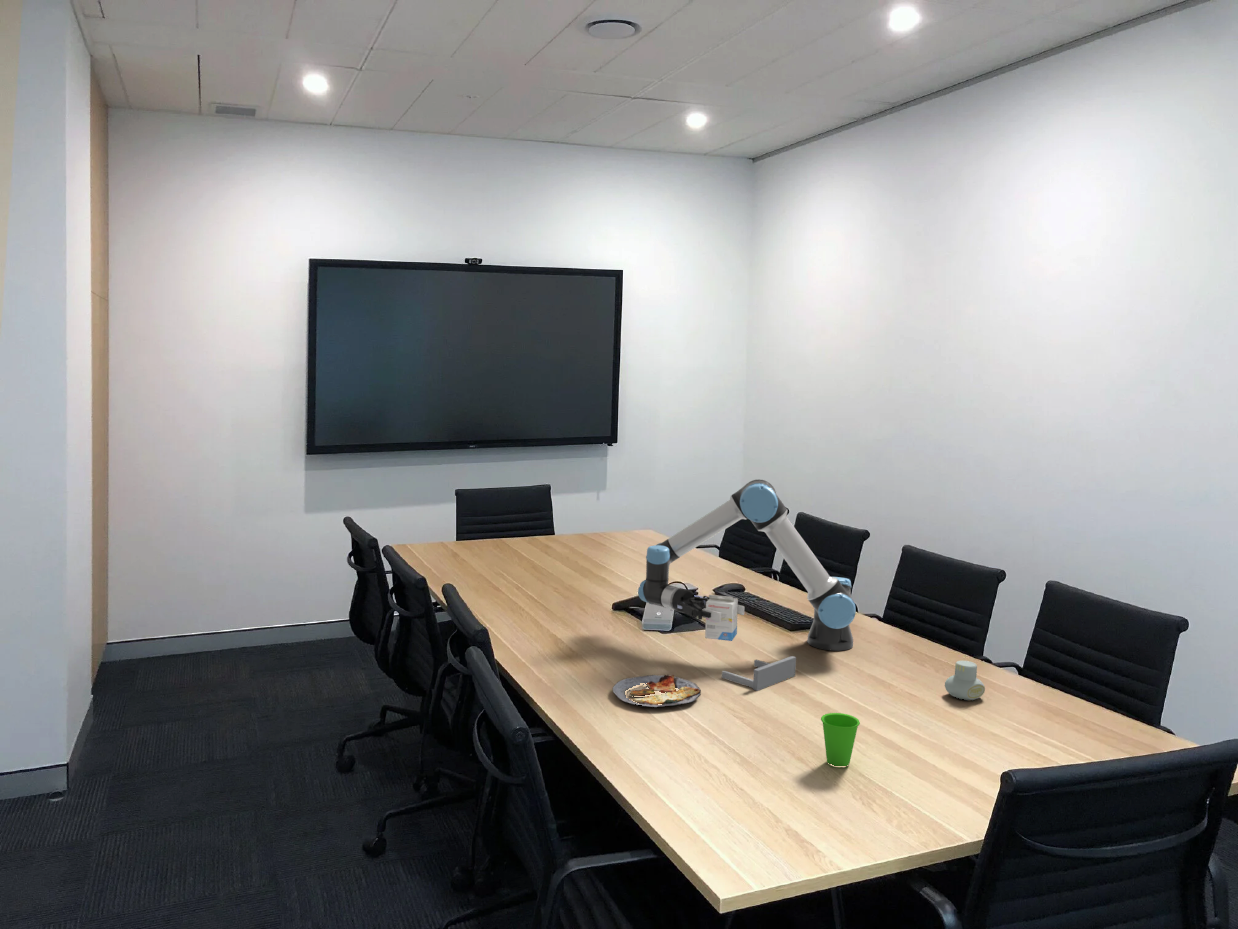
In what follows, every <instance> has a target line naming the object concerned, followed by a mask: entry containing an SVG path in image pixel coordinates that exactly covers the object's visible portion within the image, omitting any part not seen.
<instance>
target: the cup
mask: <svg viewBox="0 0 1238 929" xmlns="http://www.w3.org/2000/svg"><path fill="white" fill-rule="evenodd" d="M820 720H821V722H822V729H823V738H824V747H825V756H826V757H825V758H826V762H827V764H828V763H829V764H832V765H834V766H847V765H848V766H849V765H850V762H851V758H852V753H853V749H854V744H855V740H856V735H857V731H858V726H859V725H860V724H861V723H860V722H861V721H860V719H858V718H857V717H855V716H853V715H851V714H847V713H841V712H830V713H829V712H828V713H825V714H823V715H822V716H821V718H820ZM829 764H828V765H829Z"/></svg>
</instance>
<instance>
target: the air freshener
mask: <svg viewBox="0 0 1238 929" xmlns="http://www.w3.org/2000/svg"><path fill="white" fill-rule="evenodd" d="M954 664H955V665H954V667H955V668H954V674H953V675H951V676H949V677H948V678H947V679H946V680H945V681H944V688H945V691H946V692H947V693H948V694H950V695H951V696H952V697H953V698H955V697H956V699H958V698H959V700H962V699H964V700H963V701H968V700H972V701H974V700H977V699H980V698H981V697H982V696H983V695H984V694H985V692H986V686H985V685H984V683H983V681H981V679H979V678H977V675H978V674H977V673H978V665H977V664H976V663H975V662H972V661H971V660H969V661H968V660H957V661H956V662H955V663H954Z"/></svg>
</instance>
